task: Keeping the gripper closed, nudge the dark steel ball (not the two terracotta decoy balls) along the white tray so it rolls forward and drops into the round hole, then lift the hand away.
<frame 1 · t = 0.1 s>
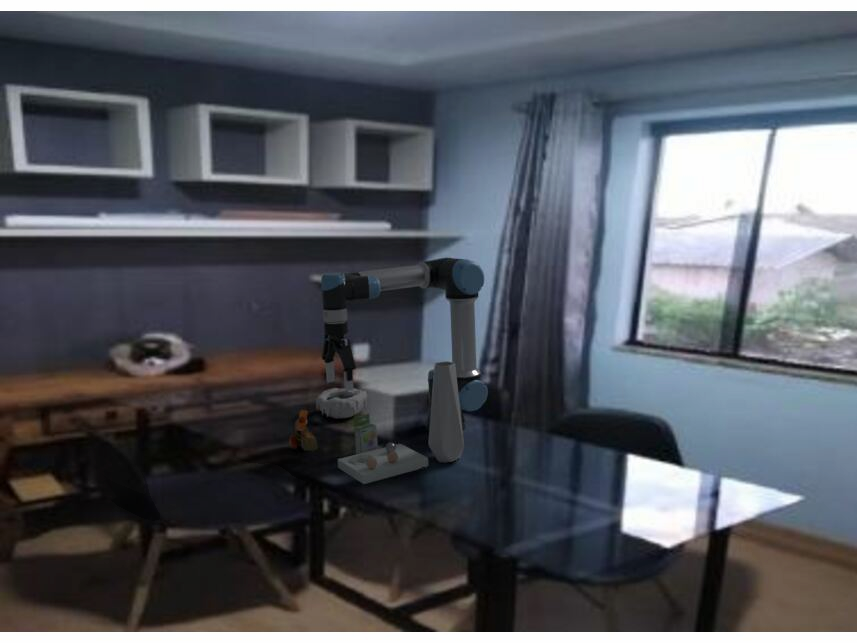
hand: (339, 386, 253), 28 cm above the table, fingers open, 13 cm apart
ink box: (366, 454, 270), on the table
toy helicopter: (306, 452, 275), on the table
steel ball: (390, 447, 261), point 5 cm above the table, touching white tray
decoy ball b: (371, 463, 248), point 5 cm above the table, touching white tray
white tray: (383, 467, 257), on the table
bowl: (342, 416, 315), on the table
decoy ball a: (392, 456, 252), point 5 cm above the table, touching white tray
vase: (449, 459, 261), on the table
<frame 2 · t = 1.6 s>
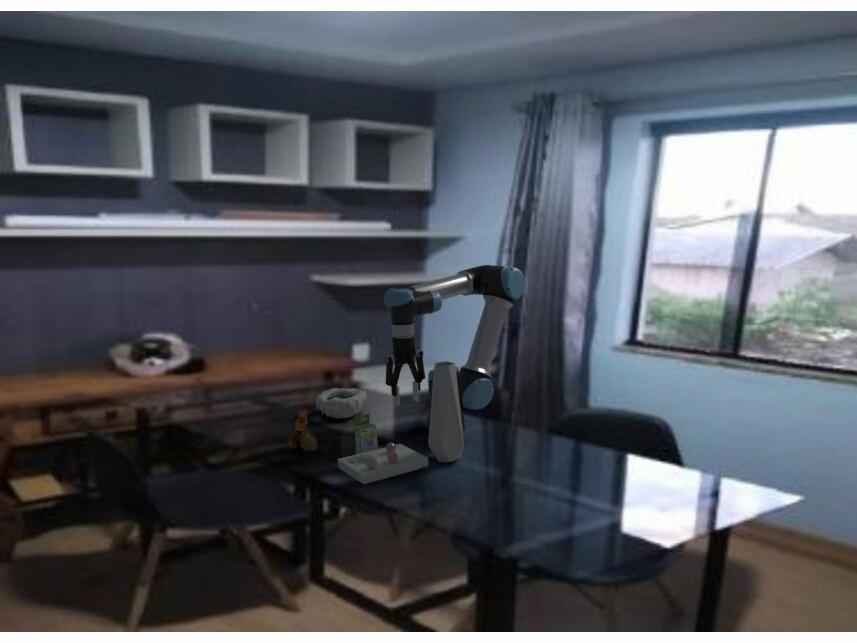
hand: (406, 402, 262), 19 cm above the table, fingers open, 7 cm apart
nothing on the table moved.
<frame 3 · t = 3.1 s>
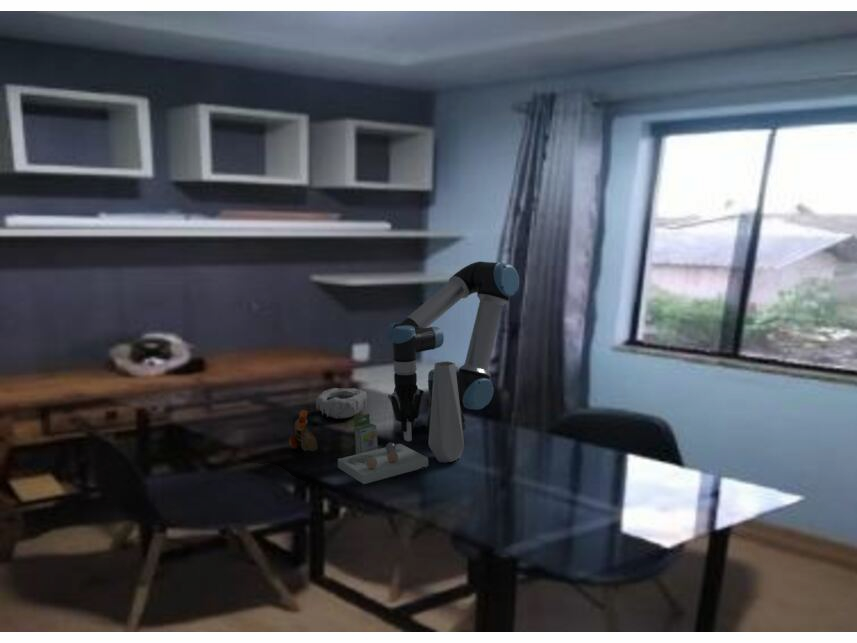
hand: (407, 439, 264), 6 cm above the table, fingers closed
nothing on the table moved.
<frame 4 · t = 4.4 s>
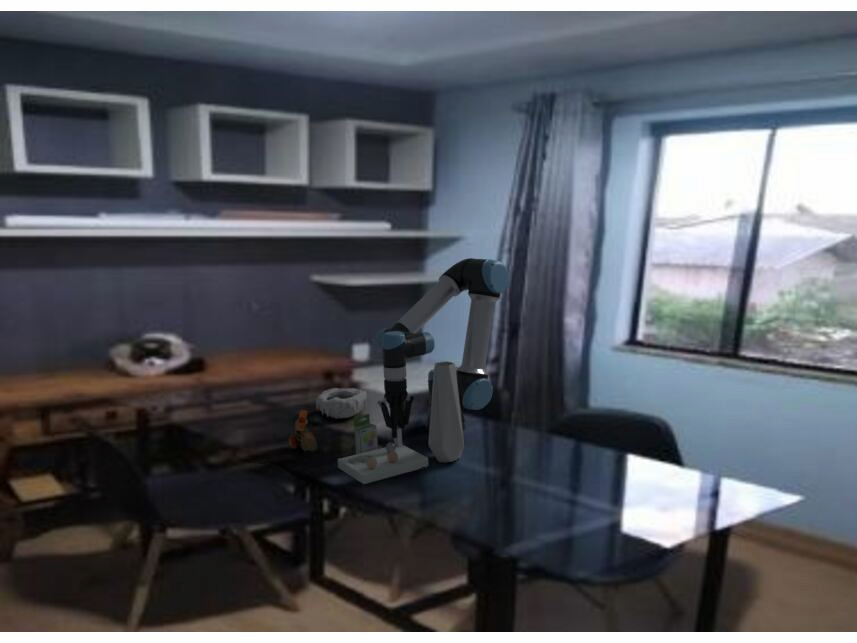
hand: (398, 446, 263), 5 cm above the table, fingers closed
nothing on the table moved.
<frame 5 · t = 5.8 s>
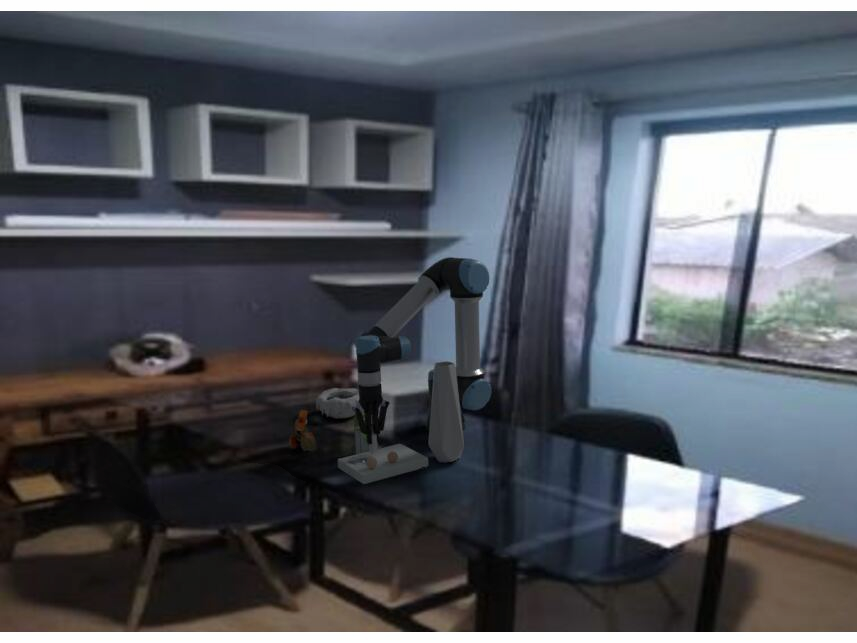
hand: (373, 452, 258), 5 cm above the table, fingers closed
steel ball: (360, 464, 255), point 2 cm above the table, tilted 80°
everything else where it was.
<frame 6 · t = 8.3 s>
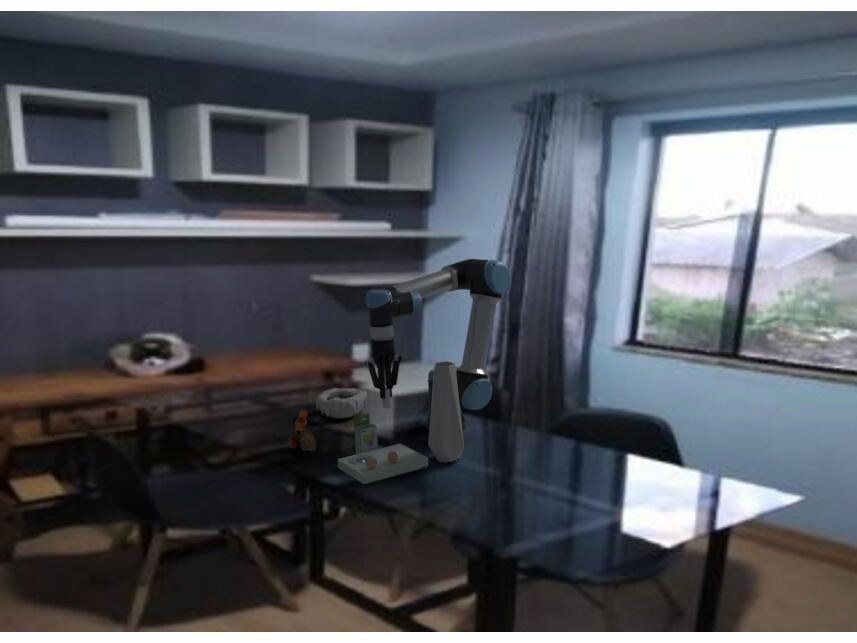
hand: (386, 407, 258), 19 cm above the table, fingers closed
nothing on the table moved.
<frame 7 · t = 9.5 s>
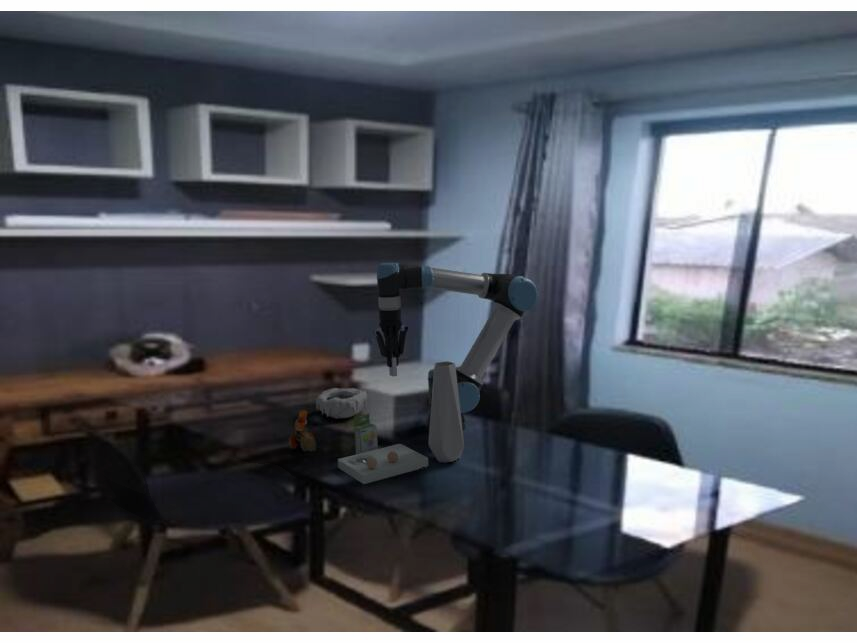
hand: (393, 375, 270), 26 cm above the table, fingers closed
nothing on the table moved.
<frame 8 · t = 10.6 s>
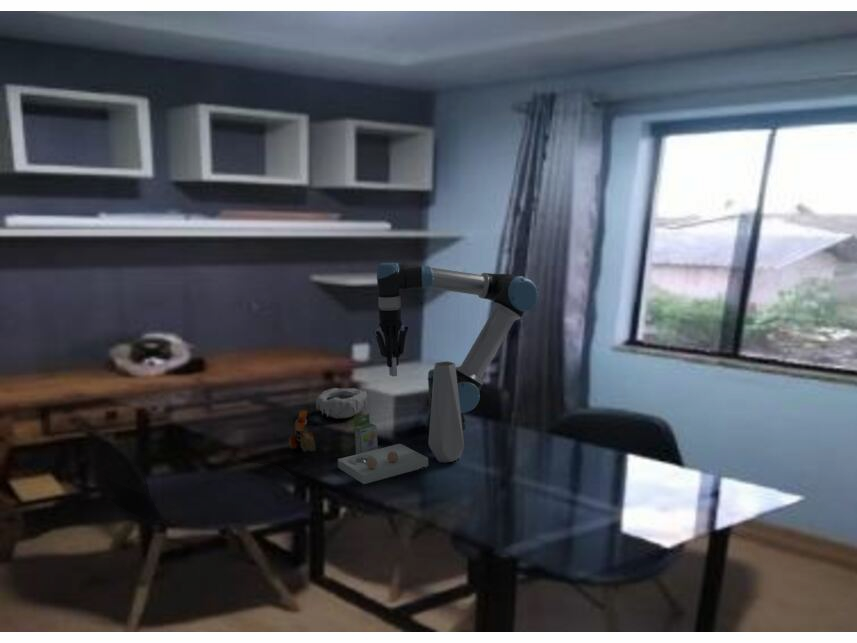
hand: (393, 375, 270), 26 cm above the table, fingers closed
nothing on the table moved.
at the end: steel ball 0.2 cm from the target spot in the white tray, point 1.7 cm above the white tray's base; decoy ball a moved 0.1 cm from its start; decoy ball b moved 0.1 cm from its start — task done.
